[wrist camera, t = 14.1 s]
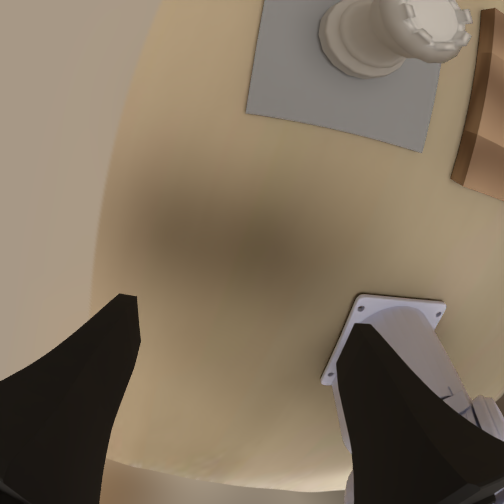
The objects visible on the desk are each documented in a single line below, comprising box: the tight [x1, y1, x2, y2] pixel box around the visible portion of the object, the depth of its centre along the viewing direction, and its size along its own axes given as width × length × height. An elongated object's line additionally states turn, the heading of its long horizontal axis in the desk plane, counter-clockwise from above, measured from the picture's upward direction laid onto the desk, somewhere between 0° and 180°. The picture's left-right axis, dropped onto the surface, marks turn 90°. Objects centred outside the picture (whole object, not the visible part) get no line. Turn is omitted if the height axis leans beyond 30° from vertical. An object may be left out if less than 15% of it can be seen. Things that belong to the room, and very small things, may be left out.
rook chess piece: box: [319, 0, 473, 79], centre depth 9 cm, size 4×4×8 cm
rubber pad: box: [246, 0, 441, 153], centre depth 13 cm, size 10×10×1 cm
